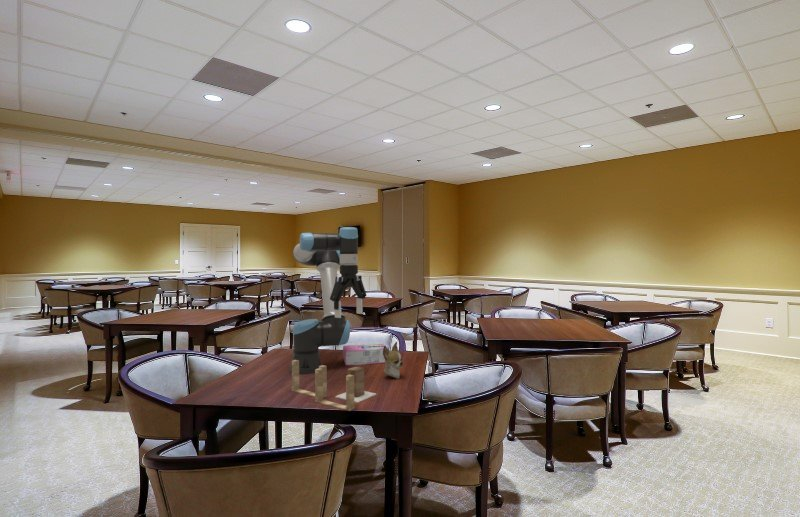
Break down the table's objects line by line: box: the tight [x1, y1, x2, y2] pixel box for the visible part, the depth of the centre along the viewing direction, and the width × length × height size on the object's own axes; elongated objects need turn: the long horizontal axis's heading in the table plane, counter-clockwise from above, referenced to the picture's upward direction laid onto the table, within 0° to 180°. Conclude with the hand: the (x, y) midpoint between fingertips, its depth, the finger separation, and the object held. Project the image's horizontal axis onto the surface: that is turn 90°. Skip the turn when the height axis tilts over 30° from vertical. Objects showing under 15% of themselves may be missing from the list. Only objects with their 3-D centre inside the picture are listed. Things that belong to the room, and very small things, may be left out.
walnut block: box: [347, 366, 365, 398], centre depth 161 cm, size 4×4×10 cm
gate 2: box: [314, 368, 355, 412], centre depth 151 cm, size 17×2×12 cm, turn 56°
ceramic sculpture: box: [383, 341, 403, 380], centre depth 186 cm, size 11×9×15 cm
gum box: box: [342, 343, 385, 366], centre depth 215 cm, size 22×7×13 cm
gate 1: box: [291, 360, 328, 399], centre depth 164 cm, size 17×2×12 cm, turn 56°
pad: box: [334, 390, 377, 404], centre depth 161 cm, size 11×11×1 cm
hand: (349, 315), depth 176 cm, fingers open, 13 cm apart
